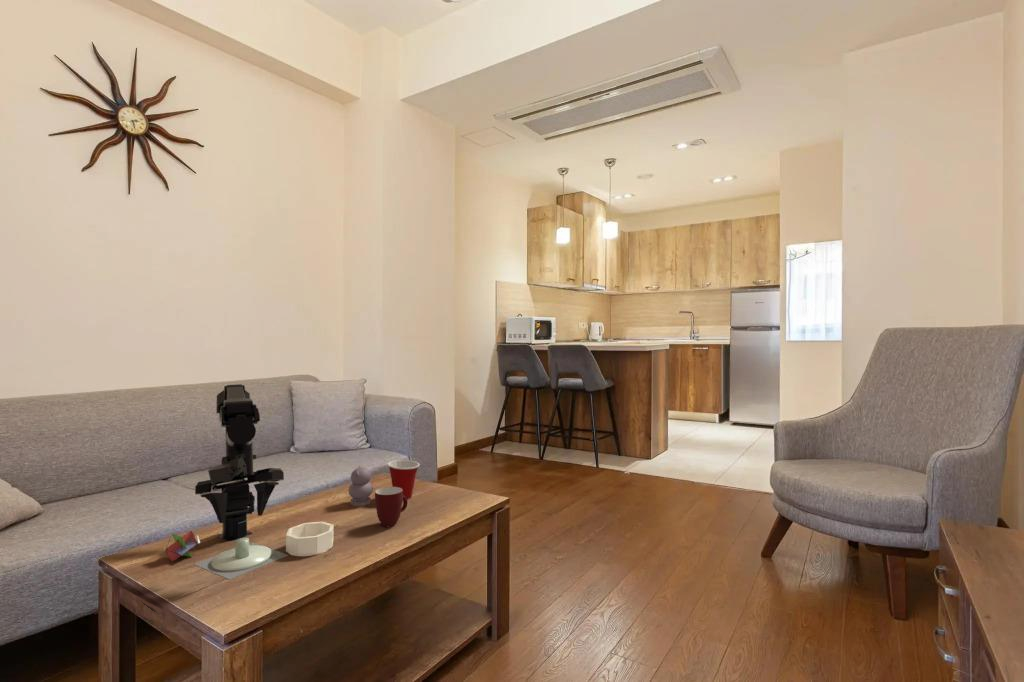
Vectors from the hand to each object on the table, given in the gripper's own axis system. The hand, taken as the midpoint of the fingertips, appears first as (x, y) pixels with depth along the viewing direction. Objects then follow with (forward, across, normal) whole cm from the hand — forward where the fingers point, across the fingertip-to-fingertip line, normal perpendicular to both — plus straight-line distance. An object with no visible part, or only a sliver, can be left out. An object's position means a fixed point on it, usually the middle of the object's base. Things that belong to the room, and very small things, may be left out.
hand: (240, 519), depth 117 cm
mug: (+8, +23, +38) cm, 45 cm away
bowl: (+10, +7, +19) cm, 22 cm away
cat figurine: (0, +8, +54) cm, 54 cm away
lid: (+9, -6, +10) cm, 15 cm away
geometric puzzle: (+6, -22, +10) cm, 25 cm away
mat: (+9, -6, +10) cm, 15 cm away
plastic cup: (0, +20, +61) cm, 64 cm away
